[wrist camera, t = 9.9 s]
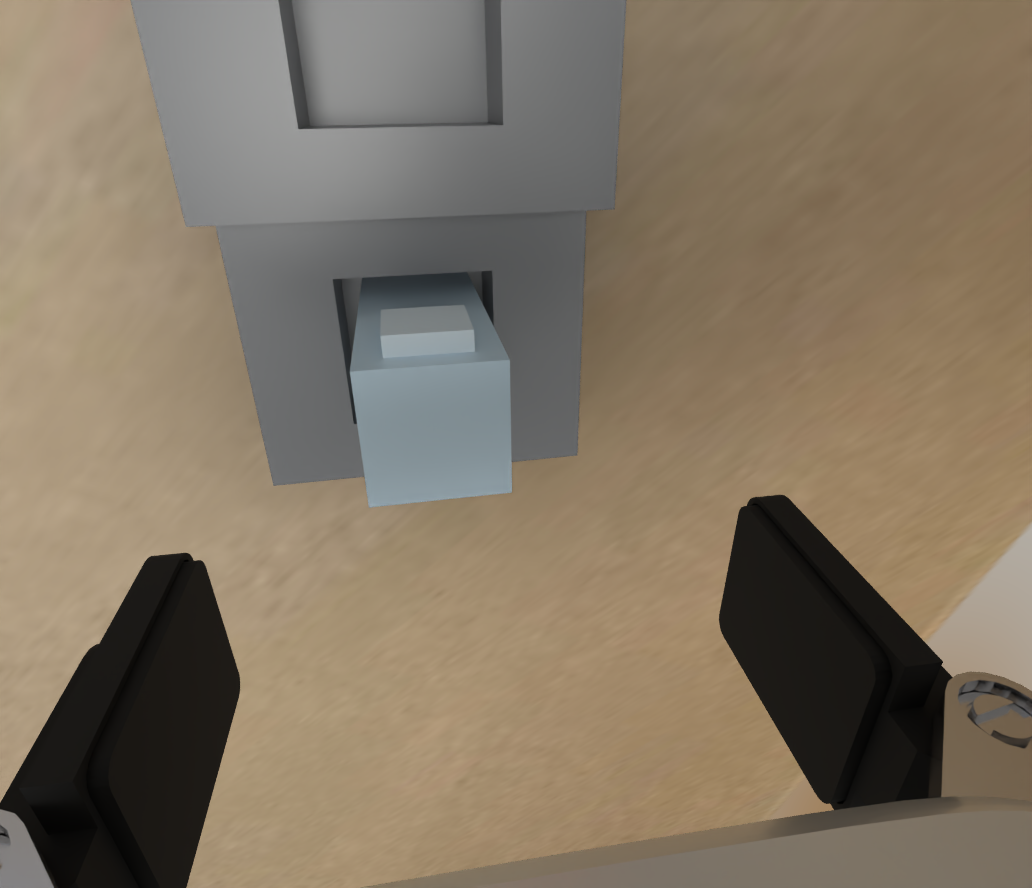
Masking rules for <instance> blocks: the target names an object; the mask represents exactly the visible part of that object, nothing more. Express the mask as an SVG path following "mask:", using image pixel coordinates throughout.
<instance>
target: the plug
mask: <svg viewBox="0 0 1032 888" xmlns="http://www.w3.org/2000/svg"><path fill="white" fill-rule="evenodd" d="M350 377H351V384H352V391H353V398H354V405H355V412H356V419H357V426H358V434H359V441H360V448H361V455H362V462H363V469H364V476H365V483H366V490H367V497H368V504H369V507H378V506H388V505H397V504H407V503H416V502H426V501H435V500H445V499H454V498H464V497H473V496H483V495H492V494H502V493H511V492H512V463H511V399H510V359H509V357H508V355H507V353H506V351H505V349H504V347H503V345H502V343H501V341H500V339H499V337H498V334H497V332H496V330H495V328H494V326H493V324H492V322H491V320H490V318H489V316H488V314H487V312H486V310H485V308H484V306H483V304H482V302H481V300H480V298H479V295H478V293H477V291H476V289H475V287H474V285H473V283H472V281H471V279H470V277H469V275H468V273H467V272H458V273H440V274H421V275H403V276H384V277H366V278H362V283H361V291H360V298H359V306H358V314H357V321H356V329H355V336H354V344H353V351H352V359H351V366H350Z"/></svg>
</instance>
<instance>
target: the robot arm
mask: <svg viewBox="0 0 1032 888" xmlns="http://www.w3.org/2000/svg"><path fill="white" fill-rule="evenodd" d="M719 623H720V628H721V632H722V634H723V636H724V638H725V640H726V641H727V643H728V645H729V647H730V648H731V650H732V652H733V653H734V655H735V657H736V659H737V660H738V662H739V664H740V665H741V667H742V669H743V670H744V672H745V674H746V676H747V677H748V679H749V681H750V682H751V684H752V686H753V688H754V689H755V691H756V693H757V694H758V696H759V698H760V700H761V701H762V703H763V705H764V706H765V708H766V710H767V711H768V713H769V715H770V717H771V718H772V720H773V722H774V723H775V725H776V727H777V729H778V730H779V732H780V734H781V735H782V737H783V739H784V740H785V742H786V744H787V746H788V747H789V749H790V751H791V752H792V754H793V756H794V758H795V759H796V761H797V763H798V764H799V766H800V768H801V769H802V771H803V773H804V775H805V776H806V778H807V780H808V781H809V783H810V785H811V786H812V788H813V790H814V792H815V793H816V795H817V796H818V798H819V799H820V800H821V801H822V802H824V803H826V804H829V803H830V804H831V805H832V807H833V809H834V810H832V811H825V812H819V813H811V814H805V815H798V816H792V817H786V818H780V819H773V820H767V821H761V822H754V823H748V824H742V825H736V826H729V827H723V828H717V829H710V830H704V831H698V832H692V833H685V834H679V835H673V836H667V837H660V838H654V839H648V840H642V841H636V842H630V843H624V844H618V845H612V846H606V847H599V848H593V849H587V850H581V851H575V852H569V853H563V854H557V855H551V856H545V857H539V858H533V859H527V860H521V861H515V862H509V863H503V864H497V865H491V866H485V867H479V868H473V869H467V870H461V871H455V872H449V873H443V874H437V875H431V876H426V877H420V878H414V879H408V880H402V881H396V882H391V883H385V884H379V885H373V886H367V887H361V888H1032V691H1030V690H1029V689H1027V688H1026V687H1024V686H1022V685H1020V684H1018V683H1015V682H1013V681H1011V680H1009V679H1006V678H1004V677H1000V676H997V675H992V674H988V673H983V672H966V673H962V674H958V675H956V676H954V677H952V676H951V675H950V674H949V673H948V672H947V671H946V670H945V669H944V668H943V667H942V666H941V665H942V663H943V661H942V660H941V659H940V658H939V657H938V656H937V655H936V654H935V653H934V652H933V651H932V650H931V648H930V647H929V646H928V645H927V644H926V643H925V642H924V641H923V640H922V639H921V638H920V637H919V636H918V635H917V634H916V633H915V632H914V630H913V629H912V628H911V627H910V626H909V625H908V624H907V623H906V622H905V621H904V620H903V619H902V618H901V617H900V616H899V615H898V614H897V612H896V611H895V610H894V609H893V608H892V607H891V606H890V605H889V604H888V603H887V602H886V601H885V600H884V599H883V598H882V597H881V596H880V595H879V593H878V592H877V591H876V590H875V589H874V588H873V587H872V586H871V585H870V584H869V583H868V582H867V581H866V580H865V579H864V578H863V577H862V575H861V574H860V573H859V572H858V571H857V570H856V569H855V568H854V567H853V566H852V565H851V564H850V563H849V562H848V561H847V560H846V559H845V558H844V556H843V555H842V554H841V553H840V552H839V551H838V550H837V549H836V548H835V547H834V546H833V545H832V544H831V543H830V542H829V541H828V540H827V538H826V537H825V536H824V535H823V534H822V533H821V532H820V531H819V530H818V529H817V528H816V527H815V526H814V525H813V524H812V523H811V522H810V521H809V519H808V518H807V517H806V516H805V515H804V514H803V513H802V512H801V511H800V510H799V509H798V508H797V507H796V506H795V505H794V504H793V503H792V501H791V500H790V499H789V498H787V497H786V496H784V495H774V496H764V497H754V498H751V499H750V500H749V502H748V504H747V506H744V507H742V508H741V509H740V511H739V514H738V520H737V525H736V530H735V535H734V541H733V546H732V551H731V556H730V562H729V567H728V572H727V577H726V583H725V588H724V593H723V598H722V604H721V609H720V614H719ZM239 693H240V677H239V672H238V669H237V666H236V663H235V659H234V656H233V653H232V650H231V646H230V643H229V640H228V637H227V634H226V630H225V627H224V624H223V621H222V618H221V614H220V611H219V608H218V605H217V601H216V598H215V595H214V592H213V589H212V585H211V582H210V579H209V576H208V572H207V569H206V566H205V564H204V563H203V561H201V560H198V561H194V560H193V558H192V556H191V555H190V554H188V553H179V554H169V555H159V556H151V557H149V558H148V559H147V560H146V561H145V563H144V565H143V566H142V568H141V570H140V572H139V574H138V575H137V577H136V579H135V581H134V583H133V584H132V586H131V588H130V590H129V592H128V593H127V595H126V597H125V599H124V601H123V602H122V604H121V606H120V608H119V610H118V611H117V613H116V615H115V617H114V619H113V620H112V622H111V624H110V626H109V628H108V629H107V631H106V633H105V635H104V637H103V638H102V640H101V642H100V644H96V645H95V646H93V647H92V648H90V649H89V650H88V652H87V653H86V654H85V656H84V657H83V659H82V661H81V662H80V664H79V666H78V668H77V669H76V671H75V673H74V675H73V676H72V678H71V680H70V682H69V683H68V685H67V687H66V689H65V690H64V692H63V694H62V696H61V697H60V699H59V701H58V703H57V704H56V706H55V708H54V710H53V711H52V713H51V715H50V717H49V718H48V720H47V722H46V724H45V725H44V727H43V729H42V731H41V732H40V734H39V736H38V738H37V739H36V741H35V743H34V745H33V746H32V748H31V750H30V752H29V753H28V755H27V757H26V759H25V760H24V762H23V764H22V766H21V767H20V769H19V771H18V773H17V774H16V776H15V778H14V780H13V781H12V783H11V785H10V787H9V789H8V790H7V792H6V794H5V796H4V797H3V799H2V801H1V803H0V888H186V887H187V883H188V880H189V876H190V872H191V869H192V865H193V861H194V858H195V854H196V850H197V847H198V843H199V840H200V836H201V832H202V829H203V825H204V821H205V818H206V814H207V811H208V807H209V803H210V800H211V796H212V792H213V789H214V785H215V782H216V778H217V774H218V771H219V767H220V763H221V760H222V756H223V753H224V749H225V745H226V742H227V738H228V734H229V731H230V727H231V723H232V720H233V716H234V713H235V709H236V705H237V702H238V698H239Z"/></svg>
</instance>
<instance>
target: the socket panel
mask: <svg viewBox="0 0 1032 888" xmlns="http://www.w3.org/2000/svg"><path fill="white" fill-rule="evenodd" d="M131 4H132V8H133V12H134V16H135V20H136V25H137V29H138V33H139V37H140V41H141V45H142V49H143V53H144V57H145V61H146V65H147V70H148V74H149V78H150V82H151V86H152V90H153V94H154V98H155V102H156V106H157V110H158V114H159V119H160V123H161V127H162V131H163V135H164V139H165V143H166V147H167V151H168V155H169V159H170V164H171V168H172V172H173V176H174V180H175V184H176V188H177V192H178V196H179V200H180V204H181V209H182V213H183V217H184V221H185V225H186V227H196V226H216V230H217V235H218V239H219V244H220V248H221V252H222V257H223V261H224V266H225V270H226V275H227V279H228V284H229V288H230V293H231V297H232V302H233V306H234V311H235V315H236V320H237V324H238V329H239V333H240V337H241V342H242V346H243V351H244V355H245V360H246V364H247V369H248V373H249V378H250V382H251V387H252V391H253V396H254V400H255V405H256V409H257V413H258V418H259V422H260V427H261V431H262V436H263V440H264V445H265V449H266V454H267V458H268V463H269V467H270V472H271V476H272V481H273V485H274V486H276V485H286V484H296V483H306V482H316V481H326V480H336V479H346V478H356V477H365V476H364V469H363V462H362V455H361V448H360V441H359V434H358V426H357V419H356V412H355V405H354V398H353V391H352V384H351V377H350V366H351V359H352V351H353V344H354V336H355V329H356V321H357V314H358V306H359V298H360V291H361V283H362V278H366V277H384V276H403V275H421V274H440V273H458V272H467V273H468V275H469V277H470V279H471V281H472V283H473V285H474V287H475V289H476V291H477V293H478V295H479V298H480V300H481V302H482V304H483V306H484V308H485V310H486V312H487V314H488V316H489V318H490V320H491V322H492V324H493V326H494V328H495V330H496V332H497V334H498V337H499V339H500V341H501V343H502V345H503V347H504V349H505V351H506V353H507V355H508V357H509V359H510V399H511V462H516V461H526V460H536V459H546V458H556V457H566V456H576V455H577V450H578V423H579V396H580V369H581V342H582V315H583V288H584V261H585V234H586V211H587V210H612V209H615V191H616V173H617V156H618V138H619V120H620V102H621V85H622V67H623V49H624V32H625V14H626V0H131Z"/></svg>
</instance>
